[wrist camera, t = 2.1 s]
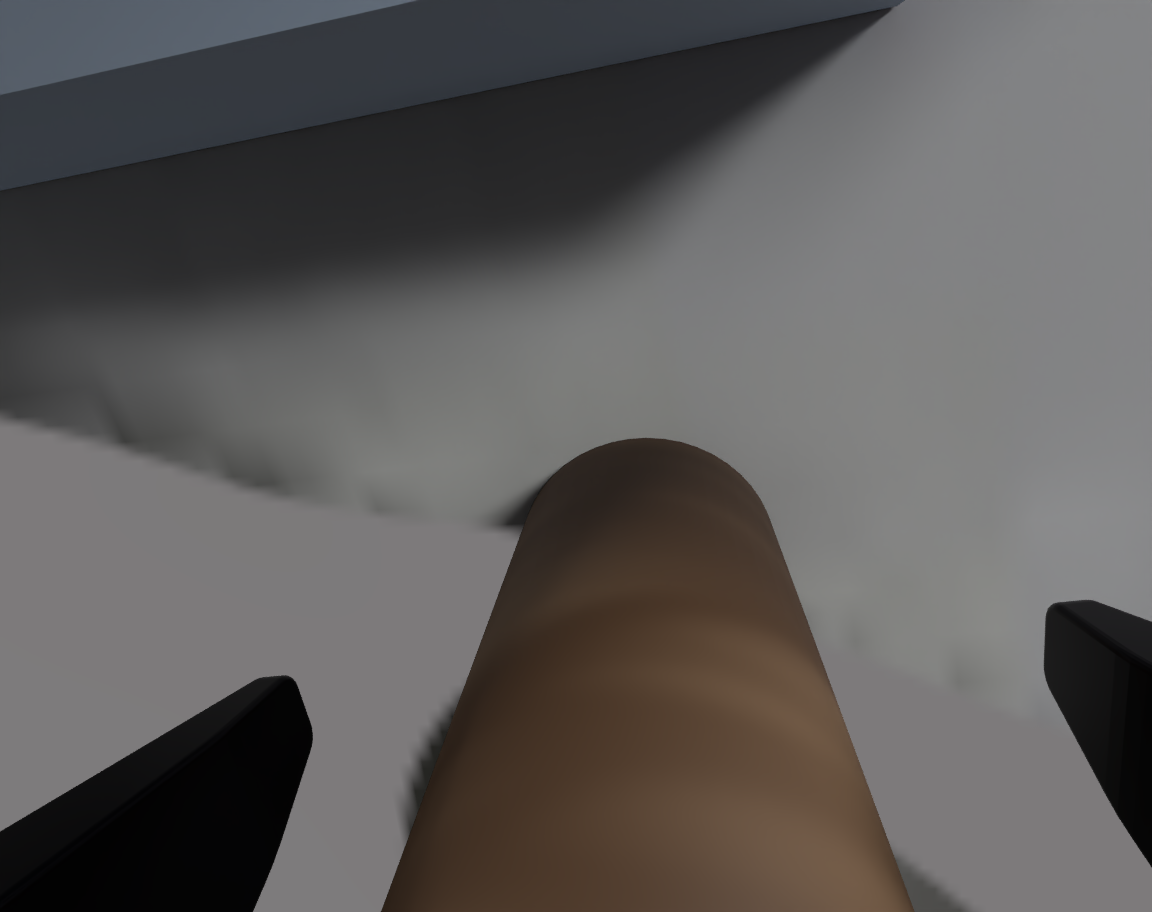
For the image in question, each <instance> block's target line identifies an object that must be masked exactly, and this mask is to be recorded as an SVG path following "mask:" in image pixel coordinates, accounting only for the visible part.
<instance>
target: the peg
mask: <svg viewBox="0 0 1152 912" xmlns="http://www.w3.org/2000/svg"><path fill="white" fill-rule="evenodd" d="M381 912H914V909H913V906H912V904H911V901H910V898H909V896H908V893H907V890H906V888H905V885H904V882H903V879H902V877H901V874H900V871H899V869H898V866H897V863H896V860H895V858H894V855H893V852H892V850H891V847H890V844H889V841H888V839H887V836H886V833H885V831H884V828H883V825H882V822H881V820H880V817H879V814H878V812H877V809H876V806H875V803H874V801H873V798H872V795H871V793H870V790H869V787H868V785H867V782H866V779H865V776H864V774H863V771H862V768H861V765H860V763H859V760H858V757H857V755H856V752H855V749H854V747H853V744H852V741H851V738H850V736H849V733H848V730H847V728H846V725H845V722H844V719H843V717H842V714H841V712H840V708H839V706H838V703H837V701H836V698H835V695H834V692H833V690H832V687H831V684H830V681H829V679H828V676H827V673H826V671H825V668H824V665H823V662H822V660H821V657H820V654H819V652H818V649H817V646H816V643H815V641H814V638H813V635H812V633H811V630H810V627H809V624H808V622H807V619H806V616H805V614H804V611H803V608H802V605H801V603H800V600H799V597H798V595H797V592H796V589H795V586H794V584H793V581H792V578H791V576H790V573H789V570H788V567H787V565H786V562H785V559H784V557H783V554H782V551H781V548H780V546H779V543H778V540H777V538H776V535H775V532H774V529H773V527H772V524H771V521H770V519H769V516H768V513H767V511H766V509H765V507H764V505H763V503H762V501H761V499H760V498H759V496H758V495H757V494H756V492H755V491H754V489H753V488H752V486H751V485H750V484H749V483H748V482H747V481H746V480H745V479H744V478H743V477H742V475H741V474H739V473H738V472H737V471H736V470H735V469H733V468H732V467H731V466H730V465H729V464H727V463H726V462H724V461H723V460H721V459H719V458H718V457H716V456H715V455H713V454H711V453H709V452H706V451H704V450H702V449H700V448H698V447H695V446H692V445H688V444H685V443H682V442H677V441H672V440H666V439H655V438H638V439H627V440H622V441H617V442H611V443H608V444H605V445H602V446H599V447H596V448H594V449H592V450H590V451H588V452H585V453H583V454H581V455H579V456H578V457H576V458H575V459H573V460H572V461H570V462H569V463H567V464H566V465H565V466H563V467H562V468H561V469H560V470H559V471H558V472H556V473H555V474H554V475H553V476H552V477H551V479H550V480H549V481H548V482H547V483H546V484H545V485H544V487H543V488H542V490H541V491H540V493H539V494H538V496H537V497H536V499H535V500H534V503H533V505H532V507H531V509H530V511H529V513H528V516H527V519H526V521H525V524H524V527H523V530H522V532H521V535H520V538H519V540H518V543H517V546H516V548H515V551H514V554H513V557H512V559H511V562H510V565H509V567H508V570H507V573H506V576H505V578H504V581H503V584H502V586H501V589H500V592H499V594H498V597H497V600H496V603H495V605H494V608H493V611H492V613H491V616H490V619H489V621H488V624H487V627H486V630H485V632H484V635H483V638H482V640H481V643H480V646H479V649H478V651H477V654H476V657H475V659H474V662H473V665H472V667H471V670H470V673H469V676H468V678H467V681H466V684H465V686H464V689H463V692H462V694H461V697H460V700H459V703H458V705H457V708H456V711H455V713H454V716H453V719H452V721H451V724H450V727H449V730H448V732H447V735H446V738H445V740H444V743H443V746H442V748H441V751H440V754H439V757H438V759H437V762H436V765H435V767H434V770H433V773H432V776H431V778H430V781H429V784H428V786H427V789H426V792H425V794H424V797H423V800H422V803H421V805H420V808H419V811H418V813H417V816H416V819H415V821H414V824H413V827H412V830H411V832H410V835H409V838H408V840H407V843H406V846H405V848H404V851H403V854H402V857H401V859H400V862H399V865H398V867H397V870H396V873H395V876H394V878H393V881H392V884H391V886H390V889H389V892H388V894H387V897H386V900H385V903H384V905H383V908H382V911H381Z"/></svg>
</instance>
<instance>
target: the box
mask: <svg viewBox="0 0 1152 912" xmlns="http://www.w3.org/2000/svg"><path fill="white" fill-rule="evenodd" d="M903 1H904V0H0V191H1V190H6V189H11V188H16V187H21V186H25V185H30V184H35V183H40V182H45V181H50V180H55V179H59V178H64V177H69V176H74V175H79V174H84V173H89V172H93V171H98V170H103V169H108V168H113V167H118V166H123V165H127V164H132V163H137V162H142V161H147V160H152V159H157V158H161V157H166V156H171V155H176V154H181V153H186V152H191V151H195V150H200V149H205V148H210V147H215V146H220V145H225V144H229V143H234V142H239V141H244V140H249V139H254V138H259V137H263V136H268V135H273V134H278V133H283V132H288V131H293V130H297V129H302V128H307V127H312V126H317V125H322V124H327V123H331V122H336V121H341V120H346V119H351V118H356V117H361V116H365V115H370V114H375V113H380V112H385V111H390V110H395V109H399V108H404V107H409V106H414V105H419V104H424V103H429V102H433V101H438V100H443V99H448V98H453V97H458V96H462V95H467V94H472V93H477V92H482V91H487V90H492V89H496V88H501V87H506V86H511V85H516V84H521V83H526V82H530V81H535V80H540V79H545V78H550V77H555V76H560V75H564V74H569V73H574V72H579V71H584V70H589V69H594V68H598V67H603V66H608V65H613V64H618V63H623V62H628V61H632V60H637V59H642V58H647V57H652V56H657V55H662V54H666V53H671V52H676V51H681V50H686V49H691V48H696V47H700V46H705V45H710V44H715V43H720V42H725V41H730V40H734V39H739V38H744V37H749V36H754V35H759V34H764V33H768V32H773V31H778V30H783V29H788V28H793V27H798V26H802V25H807V24H812V23H817V22H822V21H827V20H832V19H836V18H841V17H846V16H851V15H856V14H861V13H866V12H870V11H875V10H880V9H885V8H890V7H895V6H898V5H899V4H900V3H902V2H903Z"/></svg>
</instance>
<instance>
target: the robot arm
mask: <svg viewBox="0 0 1152 912" xmlns="http://www.w3.org/2000/svg"><path fill="white" fill-rule="evenodd" d="M1044 673H1045V678H1046V681H1047V684H1048V687H1049V689H1050V691H1051V693H1052V695H1053V697H1054V699H1055V700H1056V702H1057V704H1058V706H1059V708H1060V710H1061V712H1062V714H1063V715H1064V717H1065V719H1066V721H1067V723H1068V725H1069V727H1070V729H1071V731H1072V732H1073V734H1074V736H1075V738H1076V740H1077V742H1078V744H1079V745H1080V747H1081V749H1082V751H1083V753H1084V755H1085V757H1086V759H1087V761H1088V762H1089V764H1090V766H1091V768H1092V770H1093V772H1094V774H1095V776H1096V778H1097V779H1098V781H1099V783H1100V785H1101V787H1102V789H1103V791H1104V793H1105V794H1106V796H1107V798H1108V800H1109V801H1110V803H1111V805H1112V807H1113V808H1114V810H1115V812H1116V814H1117V815H1118V817H1119V819H1120V820H1121V822H1122V823H1123V825H1124V826H1125V828H1126V829H1127V831H1128V833H1129V834H1130V836H1131V837H1132V839H1133V840H1134V842H1135V843H1136V844H1137V846H1138V848H1139V849H1140V851H1141V852H1142V854H1143V855H1144V857H1145V858H1146V859H1147V861H1148V862H1149V864H1150V865H1151V867H1152V622H1151V621H1148V620H1145V619H1143V618H1140V617H1137V616H1134V615H1132V614H1129V613H1126V612H1124V611H1121V610H1118V609H1115V608H1113V607H1110V606H1107V605H1105V604H1102V603H1099V602H1096V601H1093V600H1078V601H1068V602H1058V603H1054V604H1052V605H1051V606H1050V607H1049V608H1048V610H1047V613H1046V621H1045V646H1044ZM312 741H313V733H312V727H311V723H310V720H309V717H308V715H307V712H306V709H305V706H304V703H303V700H302V697H301V695H300V692H299V689H298V686H297V684H296V682H295V681H294V680H293V678H291V677H289V676H286V675H285V676H273V677H263V678H259V679H256V680H254V681H253V682H251V683H249V684H247V685H246V686H244V687H243V688H241V689H239V690H237V691H236V692H234V693H233V694H231V695H229V696H227V697H226V698H224V699H222V700H221V701H219V702H217V703H216V704H214V705H212V706H211V707H209V708H207V709H205V710H204V711H202V712H200V713H199V714H197V715H195V716H194V717H192V718H190V719H189V720H187V721H185V722H184V723H182V724H180V725H179V726H177V727H175V728H174V729H172V730H170V731H168V732H167V733H165V734H163V735H162V736H160V737H159V738H157V739H155V740H153V741H152V742H150V743H148V744H147V745H145V746H143V747H142V748H140V749H138V750H137V751H135V752H133V753H132V754H130V755H128V756H126V757H125V758H123V759H121V760H120V761H118V762H116V763H115V764H113V765H111V766H110V767H108V768H106V769H105V770H103V771H101V772H100V773H98V774H96V775H95V776H93V777H91V778H89V779H88V780H86V781H85V782H83V783H81V784H79V785H78V786H76V787H74V788H73V789H71V790H69V791H68V792H66V793H64V794H63V795H61V796H59V797H58V798H56V799H54V800H52V801H51V802H49V803H47V804H46V805H44V806H42V807H41V808H39V809H38V810H36V811H34V812H32V813H31V814H29V815H27V816H26V817H24V818H22V819H21V820H19V821H17V822H16V823H14V824H12V825H11V826H9V827H7V828H5V829H4V830H2V831H1V832H0V912H253V910H254V908H255V906H256V903H257V901H258V899H259V896H260V894H261V892H262V890H263V887H264V885H265V883H266V880H267V878H268V875H269V873H270V870H271V868H272V865H273V863H274V860H275V857H276V854H277V851H278V849H279V846H280V843H281V840H282V837H283V834H284V831H285V828H286V825H287V822H288V819H289V815H290V812H291V809H292V806H293V803H294V800H295V797H296V794H297V791H298V788H299V785H300V781H301V778H302V775H303V772H304V769H305V766H306V763H307V760H308V757H309V754H310V750H311V747H312Z"/></svg>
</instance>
